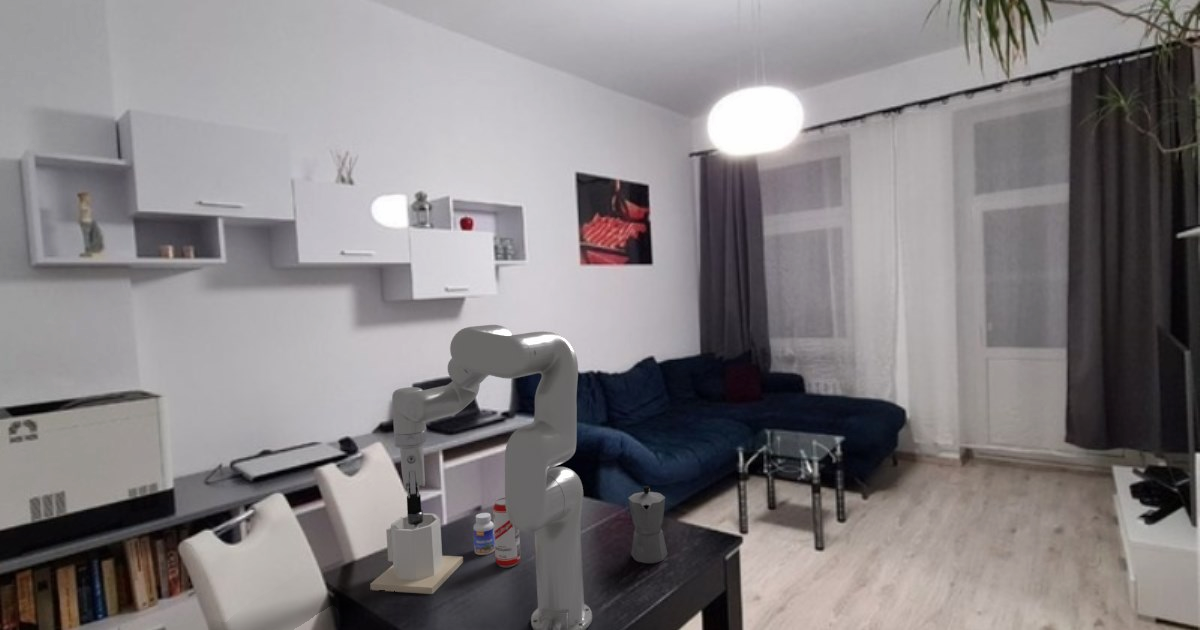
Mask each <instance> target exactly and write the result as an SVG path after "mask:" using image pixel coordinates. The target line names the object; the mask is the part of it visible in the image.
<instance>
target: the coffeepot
mask: <svg viewBox="0 0 1200 630" xmlns="http://www.w3.org/2000/svg"><path fill="white" fill-rule="evenodd" d="M642 490H643V491H640V492H635V493H633V494H632V495H630V496H629V497H627V500H628V503H629V509H630V513H631V521H632V523H633V525H634V531H633V536H632V545H631V552H630V553H631V554H630V555H631V557H632V558H633V560H634V561H636V562H638V563H641V562H642V563H641V564H656V563H660V562H663V561H664V560H666V558H667V556H668V549H667V546H666V541H665V535H664V532H663V530H662V525H663V523H664V516H665V515H664V514H665V505H666V504H665V503H666V496H664V495H663V494H662V493H660V492H656V491H655V492H654V491H651V487H650V486H649V485H645V486H644V485H643V487H642Z"/></svg>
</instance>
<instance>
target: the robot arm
mask: <svg viewBox="0 0 1200 630" xmlns="http://www.w3.org/2000/svg"><path fill="white" fill-rule="evenodd" d="M449 351H450V356H451V358H450V360H449V361H448V364H447V373H448V376H449V378H450V379H451V382H449V383H448V384H446V385H441V386H437V387H432V388H428V389H422V388H421V387H415V386H414V387H402V388H397V389H395V390H394V391H393V393H392V395H391V396H392V397H391V399H392V418H393V419H392V420H393V434H394V435H393V438H394V440H393V441H394V447H395V448H397V449H399V450H400V464H401V465H400V466H401V476H402V481H403V482H402V483H403V487H404V489H407V491H406V492H407V496H406V505H407V506H406V508H407V509H406V510H407V513H408V514H412V513H419V512H421V510H422V502H421V501H422V500H421V499H422V498H421V494H420V487H421V486H422V488H423V487H425V485H426V480H425V479H426V477H425V475H426V474H425V455H424V447H423V446H425V445H426V444H427V442H428V439H427V437H428V436H427V423H429V422H434V421H436V420H440V419H443V418H449V417H451V416H455V415H457V414H458V413H460V412H462V411H463V410H464V409H465V408H466V407H467V406H468V405H470V404H471V403H472V402H473V401H474V400H475V399H476V397H477V395H478V394H479V390H480V384H481V383H482V382H483V381H485V380H486V379H487V377H489V376H491V377H492V376H493V377H496V378H500V379H511V380H513V379H518V378H521V377H526V376H533V375H535V374H541V378H540V381H539V382H538V385H537V388H536V390H535V395H534V418H533V422H532V423H530V424H526V425H524V426H521V427H518V429H516V430H515V431H514V432H513V433H512V434H511V435H510V437H509V439H508V441H507V443H506V445H505V446H506V447H505V450H504V498H505V506H506V512H507V515H508V518H509V520H510V522H511V523H512V525H513V526H514V527H515V528H516V529H517V530H519V532H520V533H521V532H522V533H534V554H535V573H536V591H537V592H536V593H537V594H536V595H537V608H536V609H534V611H533V613H532V614H531V617H530V623H531V624H530V625H531V628H532V629H533V630H587V628H588V627H589V626H590V625H591V623H592V621H593V612H592V610H591V608H590V607H589V605H587V604H586V603H585V597H584V596H585V595H584V580H583V579H584V577H583V555H582V537H581V536H582V534H581V533H582V532H581V528H582V526H581V525H582V521H581V520H582V511H583V502H584V489H583V488H584V487H583V484H582V480H581V479H580V476H579V475H578V474H577V473H576V472H575V471H574V470H572V469H571V468H568V467H565V466H559V465H561V464H564V463H566V462H567V461H569V460H570V459H572V457H573V456H574V454H575V453H576V450H577V442H578V441H577V433H578V431H577V424H578V423H577V421H578V420H577V418H578V417H577V412H578V411H577V410H578V409H577V408H578V407H577V394H578V393H577V391H578V378H579V362H578V358H577V357H578V356H577V355H576V352H575V349H574V348H573V346H572V345H571V343H570V342H569V341H568V340H567V339H566V338H565V337H563V336H561V335H560V334H558V333H555V332H553V331H552V332H551V331H533V332H526V333H520V334H519V333H517V334H513V333H512V332H511V331H510V330H509V329H508V328H507V327H504V326H503V325H497V324H487V325H477V326H467V327H464V328H462V329H460V330H459V331H457V332H456V333H455V334H454V336H453V337H452V340H451V341H450V346H449Z"/></svg>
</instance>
